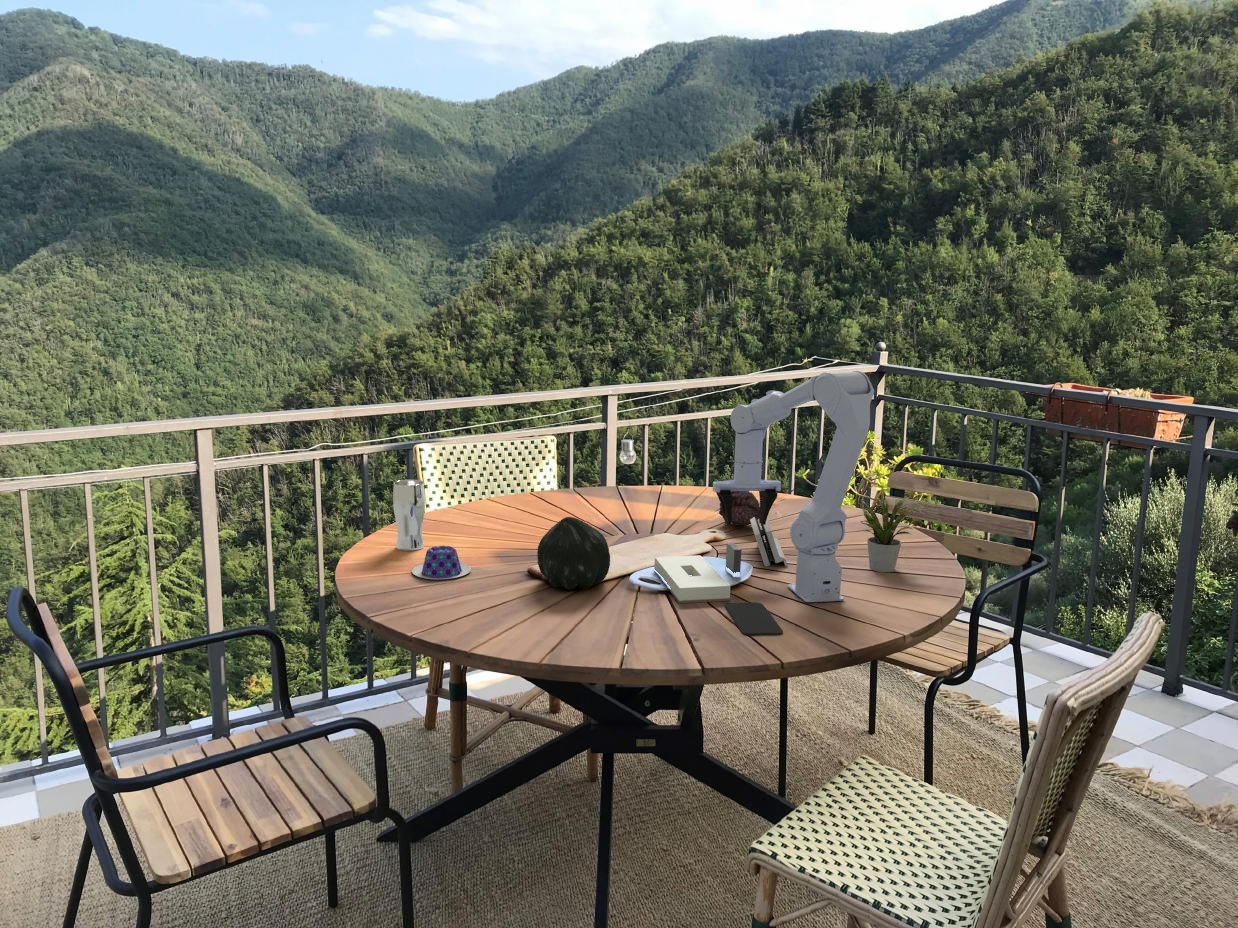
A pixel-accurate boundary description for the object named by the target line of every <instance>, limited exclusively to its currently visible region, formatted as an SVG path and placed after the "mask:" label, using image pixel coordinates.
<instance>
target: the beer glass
mask: <svg viewBox="0 0 1238 928" xmlns="http://www.w3.org/2000/svg"><path fill="white" fill-rule="evenodd" d="M424 482H425V481H422V480H419V479H400V480H396V481H394V482H393V493H392V503H393V504H392V506H393V513H394V518H395V522H396V527H397V541H396V547H395V548H396V549H397V550H398V551H402V552H413V551H419V550H422V549H423V548H425V543H424V539H423V523H424V517H425V509H426V494H425V492H426V491H425V485H424V484H425V483H424Z"/></svg>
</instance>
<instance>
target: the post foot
mask: <svg viewBox="0 0 1238 928" xmlns="http://www.w3.org/2000/svg"><path fill="white" fill-rule="evenodd" d="M653 566H654V568H653V569H655V570H656V571H657V572H658V573H659V574H660V575H661V576H662V577H663V578H664V580H665V581H666V582H667V584H668V585H669V586H670V588H671V590H670V591H669V592H670V593H671V595H672V596H673V597H674V598H675V600H676V601H677V603H678V604H686V603H687V604H688V603H689V604H692V603H693V604H694V603H707V602H708V603H709V602H711V603H712V602H729V601H731V585H730V584H729V583H728V581H726V580H725V579H724V577H722V576H721V575H720V573H719V572H718V571H717V570H716V569H715V568H714V567H713V566H711V565H710V563H709V562H708V561H707V560H706V559H704V558H703V557H702V556H701V555H700V554H698V555H676V556H675V555H673V556H655V557H654V565H653ZM689 575H692V576H689Z"/></svg>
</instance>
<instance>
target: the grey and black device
mask: <svg viewBox="0 0 1238 928" xmlns="http://www.w3.org/2000/svg"><path fill="white" fill-rule="evenodd" d="M750 521H751V524H750V525H751V527H752V531H753V534H754V537H755V539H756V544H757V546H758V550H759V553H760V555H761V559H762V562H763V566H765V567H768V566H771V564H772V562H773V563H775V564H779V563H781V562H783V564H784V567H788V563H787V559H786V557H785V554H784V552H783V549H782V546H781V544H780V542H779V539H778V538H776V537H774V536H773V533H772V530H771V527H770V523H769V521H768V519H767V520H766V524H765V525H762V524H761V523H759V519H758V520H757V518H755V517H754V518H752V519H750ZM764 538H765V539H764Z"/></svg>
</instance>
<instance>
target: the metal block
mask: <svg viewBox="0 0 1238 928" xmlns="http://www.w3.org/2000/svg"><path fill="white" fill-rule="evenodd" d="M725 554H726V555H725V568H726V567H727V568H729V569H730V570H731V571H732V572H733V573H734V572H735V573H736V572H740V573H741V565H742V549H741V548H740V547H739V546H738V545H737V544H736V543H735V542H726V552H725Z"/></svg>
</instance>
